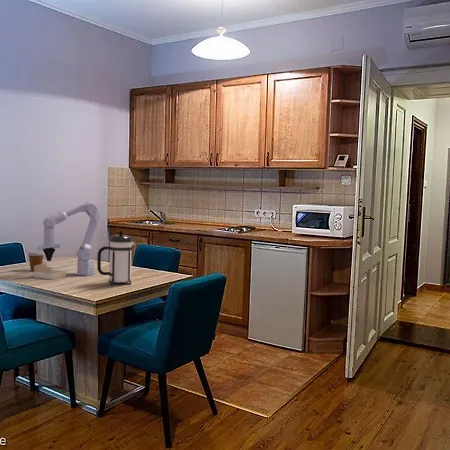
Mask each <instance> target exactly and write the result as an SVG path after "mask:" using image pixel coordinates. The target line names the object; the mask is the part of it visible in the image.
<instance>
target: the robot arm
mask: <svg viewBox="0 0 450 450" xmlns="http://www.w3.org/2000/svg"><path fill="white" fill-rule="evenodd" d="M80 212H81V213H85V214H87V215H88V217H89V219H90V220H89V223H88V226H87V228H86V231H85V234H84V238H83V241H82V243H81V245H80V247H79V248H78V249H77V251H76V255H77V262H76V263H77V266H76V267H77V269H76V270H77V272H76V273H74V274H73V275H74V276H83V277H84V276H86V277H88V276H93V275H96V274H95V262H94V261H93V260H91V256H92V253H91V251H92V243H93V242H94V238H95V234H96V232H97V228H98V225H99V221H100V213H99V208H98V206H97V205H96V204H95V203H94V202H90V201H89V202H87V201H86V202H84V203H80V204H78V205H77V206H75V207H73V208H70V209H69V210H66V211H57V213H55V214H53V215H49V217H48V216H47V217H45V218H44V219H43V220H42V225H43V245H38V246H37V248H36V249H37V250H36V251H43V252H44V256H45V258H46V261H47V262H51V261H52V258H53V255H54V253H55V251H56V249H61V244H60V243H59V244H58V243H56V244H55V226H56V225H58V224H60V223H63V222H64V221H66V220H67V219H68V217H71V216H73V215H75V214H78V213H80Z"/></svg>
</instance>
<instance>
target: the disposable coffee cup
mask: <svg viewBox="0 0 450 450" xmlns="http://www.w3.org/2000/svg"><path fill="white" fill-rule="evenodd" d="M27 254H28V259H29V267H30V271H31V272H34V265H39V264H44V263H43V261H44V256H45V253H44V251H43V250H30V251H28V253H27ZM35 272H36V271H35Z"/></svg>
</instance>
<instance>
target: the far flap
mask: <svg viewBox="0 0 450 450" xmlns="http://www.w3.org/2000/svg"><path fill="white" fill-rule="evenodd" d="M38 266H43V267H48V265H47V263H46V262H45V263H42V264H39V265H34V271H33V272H35V271H37V267H38Z"/></svg>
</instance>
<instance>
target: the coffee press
mask: <svg viewBox="0 0 450 450" xmlns="http://www.w3.org/2000/svg"><path fill="white" fill-rule="evenodd" d="M108 242H109V246H107V245H106V246H101V247H100V248H99V249H98V251H97V257H96V258H97V261H96V263H97V265H96V266H97V267H96V268H97V271H98V273H99V274H100V275H101V276H109V278H108V282H109V283H110V285H111V286H114V285H116V283H118V284H120V283H127V285H128V286H130V285H132V281H131V279H132V250H133V246H135V245H136V244H135V243H134V241H133V239H132V237H131V236H130V235H127V234H124V231H123V230H119V231H118V234H114V235H111V236H110V238H109V240H108ZM106 250H109V263H108V264H109V268H108V269H109V271H103V270H102V269H101V267H102V266H101V264H102V263H101V262H102V253H103V251H106Z"/></svg>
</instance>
